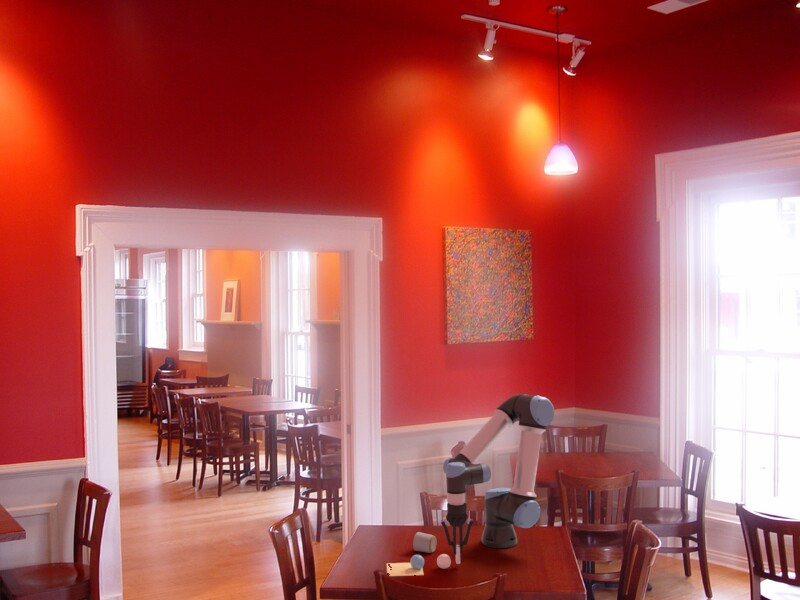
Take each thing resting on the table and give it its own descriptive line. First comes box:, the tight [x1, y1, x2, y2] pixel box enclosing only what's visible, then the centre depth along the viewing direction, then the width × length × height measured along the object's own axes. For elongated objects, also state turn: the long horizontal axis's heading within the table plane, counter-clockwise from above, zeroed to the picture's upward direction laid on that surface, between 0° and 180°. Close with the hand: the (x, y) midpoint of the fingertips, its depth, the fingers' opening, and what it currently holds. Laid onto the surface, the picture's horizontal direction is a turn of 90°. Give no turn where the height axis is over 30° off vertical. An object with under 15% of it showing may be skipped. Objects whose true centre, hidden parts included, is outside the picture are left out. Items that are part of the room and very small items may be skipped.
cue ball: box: [436, 553, 452, 570], centre depth 305 cm, size 6×6×6 cm
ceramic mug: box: [412, 531, 438, 554], centre depth 327 cm, size 11×8×8 cm
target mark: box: [386, 562, 425, 577], centre depth 305 cm, size 14×14×1 cm
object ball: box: [409, 554, 425, 569], centre depth 305 cm, size 6×6×6 cm
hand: (458, 562), depth 306 cm, fingers closed
